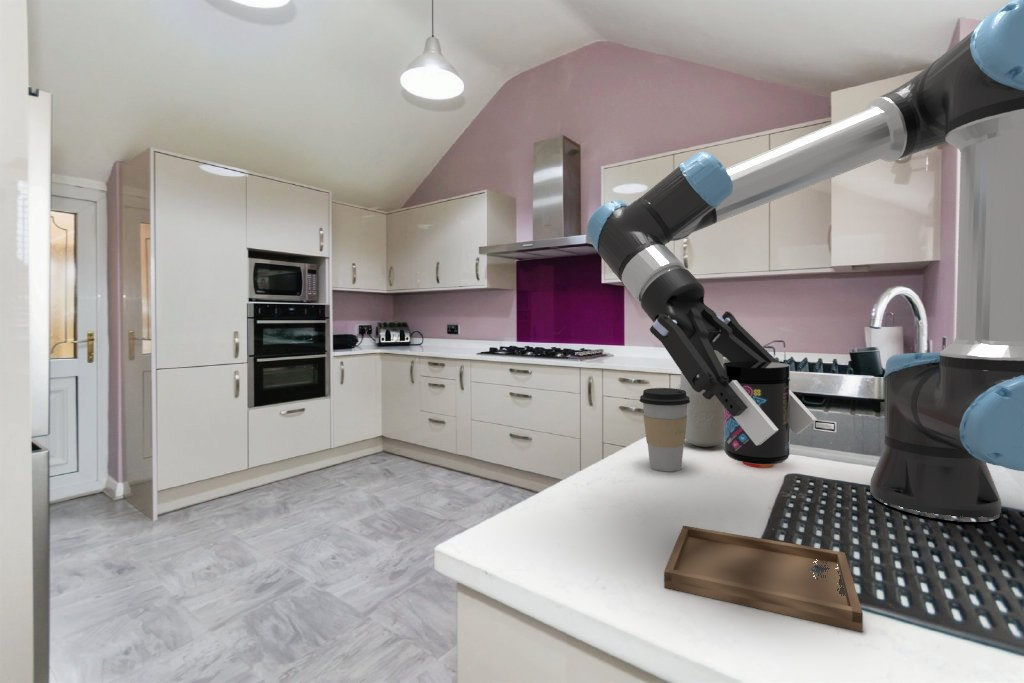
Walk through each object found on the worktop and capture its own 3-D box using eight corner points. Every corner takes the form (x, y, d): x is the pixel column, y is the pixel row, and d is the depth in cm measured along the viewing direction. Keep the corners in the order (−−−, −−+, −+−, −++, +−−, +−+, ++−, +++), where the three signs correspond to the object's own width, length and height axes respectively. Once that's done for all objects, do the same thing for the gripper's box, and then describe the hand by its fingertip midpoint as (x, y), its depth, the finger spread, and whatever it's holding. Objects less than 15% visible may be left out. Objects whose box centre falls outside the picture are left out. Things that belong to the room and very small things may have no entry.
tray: (844, 567, 58) (844, 552, 57) (862, 632, 46) (862, 613, 46) (683, 538, 66) (682, 525, 66) (664, 587, 54) (664, 571, 54)
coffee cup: (694, 475, 91) (693, 394, 90) (641, 473, 93) (640, 394, 92) (687, 460, 100) (686, 387, 99) (639, 459, 102) (638, 387, 101)
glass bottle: (681, 450, 108) (680, 322, 106) (680, 438, 117) (679, 321, 116) (730, 453, 105) (730, 321, 103) (725, 441, 114) (725, 320, 113)
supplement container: (718, 447, 60) (717, 361, 59) (780, 449, 58) (780, 361, 57) (728, 464, 53) (727, 368, 52) (798, 467, 51) (798, 367, 51)
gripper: (695, 307, 73) (810, 437, 60) (593, 310, 62) (706, 468, 49) (727, 267, 68) (859, 399, 55) (623, 263, 58) (757, 425, 45)
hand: (787, 431), depth 52 cm, fingers closed on supplement container, 7 cm apart
